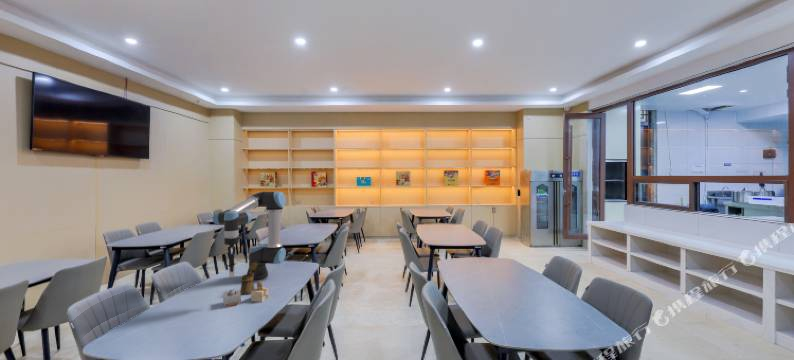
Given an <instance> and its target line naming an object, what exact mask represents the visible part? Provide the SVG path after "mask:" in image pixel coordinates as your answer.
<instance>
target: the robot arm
mask: <svg viewBox="0 0 794 360" xmlns="http://www.w3.org/2000/svg"><path fill="white" fill-rule="evenodd" d="M286 204H287V198H286V196H285V193H283V192H282V191H260V192H256V193H254V194H252V195H249V196H248V197H247V198H246V199H245V200H243V201H241V202H239V203H237V204H234V206H232V207H230V208H228V209H226V210H223V211H222V212H221V211H217V212H215V213H213V215H212V222H213V223H214V224H215V225H224V228H223V229H224V230H223V231H224V232H223V233H222V234H223V236H224V239H223V243H224V245H225V246H228V245H229V246H228V247H227V253H228V256H229V257H228V260H229V261H228V265H227V267H228V278H233V277H235V265H236V263H235V255H236V246H235V245H238V244H239V243H240V242H239V235H240V233H239V231H240V230H239V226H242V225H244V226H245V225H247V224H249V223H250V222H251V221H252V220H253V219H252V214H251V213H250V212H249V211H250V210H253V209H257V208H265V211H267V212H268V213H267V214H268V216H267V217H268V219H267V220H268V223H267V224H268V225H267V226H268V227H267V228H268V229H267V231H268V232H267V233H268V234H267V235H268V237H267V239H268V241H267V243H268V244H266V245H265V244H261V245H260V244H259V245H255V246H252V247H250V248H249V249H248V270H247V273H246V275H247V274H249V273H250V271H249V267H250V265H251V264H252V263H253V262H257V263H258V267H257V269H256V270H255V271H254V272H253V273H254V278H253V281H257V280H263V279H265V278H267V277H268V276H269V271H268V267H267V265H268V264H271V265H272V264H273V265H279V264H282V263H283V262H284V261H285V258H286V254H287V250H286V248H285V247H283V243H281V238H282V237H281V234H282V233H281V229H282V228H281V224H282V223H281V212H282V211H283V208H285V206H286ZM266 264H267V265H266Z"/></svg>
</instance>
